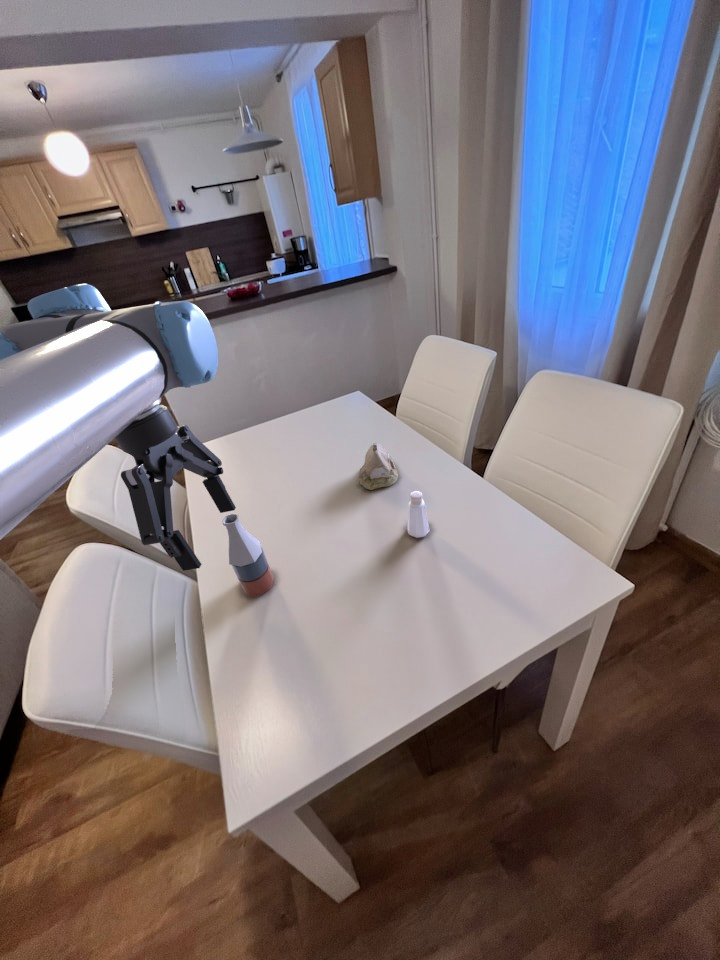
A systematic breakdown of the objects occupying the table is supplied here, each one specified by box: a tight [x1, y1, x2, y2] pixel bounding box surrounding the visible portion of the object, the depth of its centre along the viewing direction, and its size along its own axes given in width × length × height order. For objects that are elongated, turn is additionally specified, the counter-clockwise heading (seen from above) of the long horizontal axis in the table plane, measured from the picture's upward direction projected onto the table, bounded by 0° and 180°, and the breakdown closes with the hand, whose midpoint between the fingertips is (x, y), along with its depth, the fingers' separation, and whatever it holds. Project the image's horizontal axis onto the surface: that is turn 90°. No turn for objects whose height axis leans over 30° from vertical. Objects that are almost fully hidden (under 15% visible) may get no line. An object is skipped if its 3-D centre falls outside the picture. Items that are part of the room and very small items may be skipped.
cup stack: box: [231, 546, 275, 597], centre depth 87 cm, size 7×7×9 cm
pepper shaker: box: [406, 490, 431, 539], centre depth 93 cm, size 5×5×11 cm
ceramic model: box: [359, 442, 399, 491], centre depth 114 cm, size 14×11×10 cm
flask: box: [222, 513, 263, 567], centre depth 81 cm, size 7×7×10 cm
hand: (212, 536), depth 63 cm, fingers open, 13 cm apart
